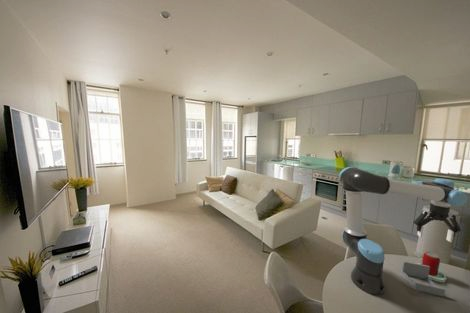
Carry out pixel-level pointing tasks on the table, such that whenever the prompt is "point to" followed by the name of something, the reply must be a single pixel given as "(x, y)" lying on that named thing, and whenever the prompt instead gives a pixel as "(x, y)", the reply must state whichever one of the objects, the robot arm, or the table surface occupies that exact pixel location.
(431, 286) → the bay
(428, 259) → the beverage can
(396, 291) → the table surface
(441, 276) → the tray
